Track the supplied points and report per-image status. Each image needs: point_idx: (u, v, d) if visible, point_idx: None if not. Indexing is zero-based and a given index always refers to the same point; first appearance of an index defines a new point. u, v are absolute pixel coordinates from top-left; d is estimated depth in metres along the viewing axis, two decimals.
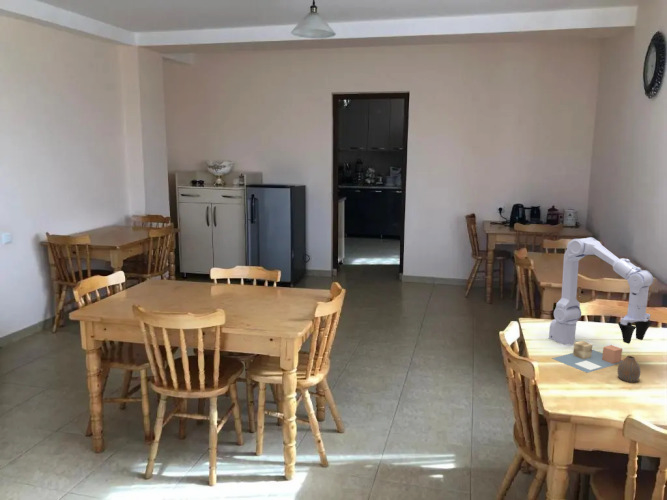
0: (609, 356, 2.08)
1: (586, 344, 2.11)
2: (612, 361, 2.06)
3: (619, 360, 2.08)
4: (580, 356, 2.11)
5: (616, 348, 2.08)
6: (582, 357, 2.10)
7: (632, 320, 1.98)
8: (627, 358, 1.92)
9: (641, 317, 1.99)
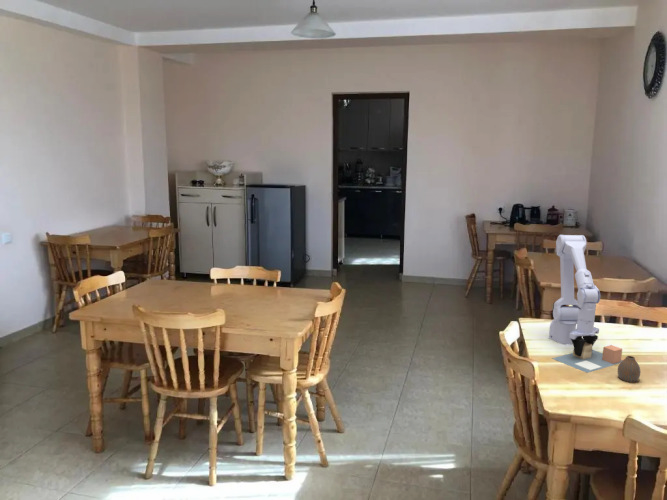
0: (609, 356, 2.08)
1: (586, 344, 2.11)
2: (612, 361, 2.06)
3: (619, 360, 2.08)
4: (580, 356, 2.11)
5: (616, 348, 2.08)
6: (582, 357, 2.10)
7: (580, 334, 2.08)
8: (627, 358, 1.92)
9: (589, 331, 2.08)
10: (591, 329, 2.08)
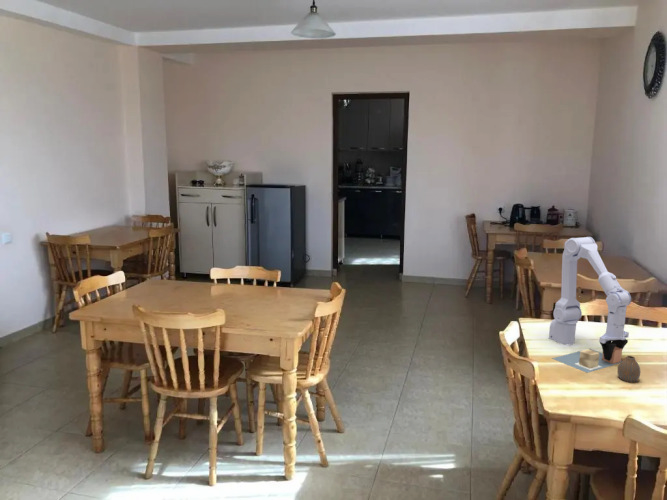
0: None
1: (593, 352, 2.02)
2: (612, 361, 2.06)
3: (619, 360, 2.08)
4: (586, 365, 2.02)
5: (616, 348, 2.08)
6: (588, 366, 2.01)
7: (610, 338, 2.04)
8: (627, 358, 1.92)
9: (619, 335, 2.05)
10: (621, 333, 2.05)
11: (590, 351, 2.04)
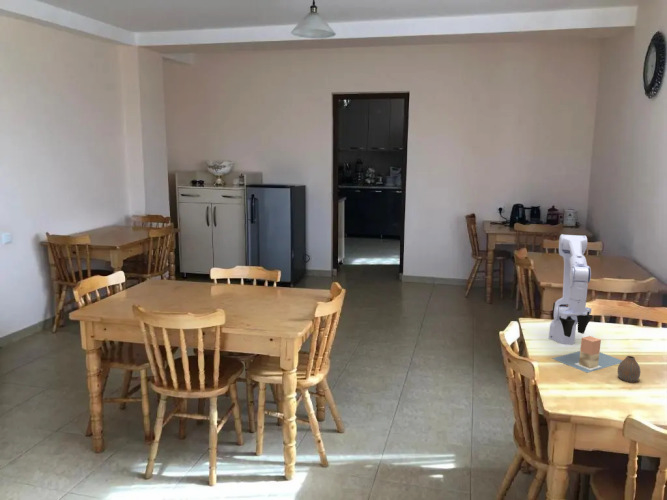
0: (587, 347, 2.01)
1: None
2: (590, 352, 2.00)
3: (598, 351, 2.02)
4: (586, 365, 2.02)
5: (594, 339, 2.02)
6: (588, 366, 2.01)
7: (572, 314, 2.03)
8: (627, 358, 1.92)
9: (581, 311, 2.04)
10: (583, 308, 2.04)
11: None
